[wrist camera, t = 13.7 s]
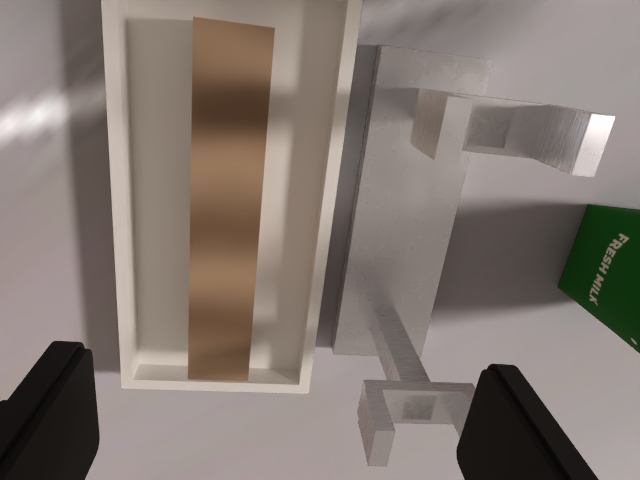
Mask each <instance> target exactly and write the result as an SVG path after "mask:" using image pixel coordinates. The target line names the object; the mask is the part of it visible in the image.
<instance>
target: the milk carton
mask: <svg viewBox="0 0 640 480" xmlns="http://www.w3.org/2000/svg"><path fill="white" fill-rule="evenodd" d="M558 288H560V289H561V290H562V291H563V292H565V293H566V294H567V295H568V296H570V297H571V298H572V299H573V300H574V301H576V302H577V303H578V304H579V305H581V306H582V307H583V308H584V309H586V310H587V311H588V312H589V313H591V314H592V315H593V316H594V317H596V318H597V319H598V320H599V321H601V322H602V323H603V324H604V325H606V326H607V327H608V328H610V329H611V330H612V331H613V332H614V333H616V334H617V335H618V336H619V337H621V338H622V339H623V340H624V341H625V342H627V343H628V344H629V345H630V346H631V347H633V348H634V349H635V350H636V351H637V352H639V353H640V210H636V209H626V208H617V207H608V206H598V205H588V208H587V210H586V213H585V216H584V218H583V221H582V224H581V226H580V229H579V232H578V235H577V237H576V240H575V243H574V245H573V248H572V251H571V253H570V256H569V259H568V261H567V264H566V267H565V270H564V272H563V275H562V278H561V280H560V283H559V286H558Z"/></svg>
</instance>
